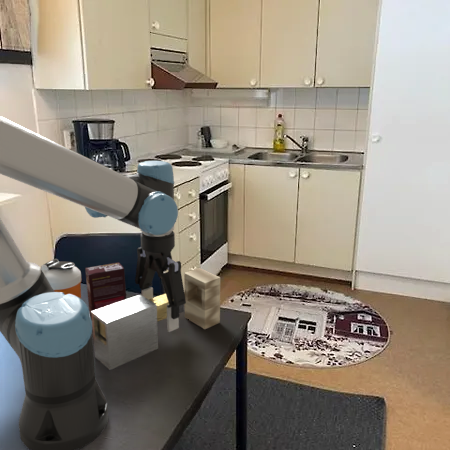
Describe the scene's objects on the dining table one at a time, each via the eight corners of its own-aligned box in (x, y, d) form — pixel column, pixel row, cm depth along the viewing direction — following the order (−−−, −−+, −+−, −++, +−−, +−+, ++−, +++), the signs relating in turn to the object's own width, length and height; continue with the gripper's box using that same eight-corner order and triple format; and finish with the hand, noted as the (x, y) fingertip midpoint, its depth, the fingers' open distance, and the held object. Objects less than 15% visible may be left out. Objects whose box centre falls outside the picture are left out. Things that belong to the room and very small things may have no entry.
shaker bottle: (74, 355, 104) (67, 273, 98) (38, 350, 106) (28, 269, 100) (93, 334, 112) (87, 257, 106) (59, 330, 114) (51, 254, 108)
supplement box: (123, 318, 120) (120, 261, 115) (128, 327, 116) (125, 268, 111) (89, 325, 116) (84, 267, 112) (93, 335, 112) (88, 274, 108)
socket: (204, 329, 116) (204, 283, 112) (184, 317, 121) (184, 272, 117) (219, 322, 119) (220, 277, 115) (199, 311, 124) (199, 267, 121)
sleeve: (110, 370, 99) (106, 323, 96) (94, 356, 104) (91, 311, 100) (158, 348, 107) (156, 304, 104) (142, 337, 112) (140, 294, 108)
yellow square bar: (109, 341, 99) (108, 324, 98) (100, 333, 102) (98, 317, 100) (183, 311, 112) (183, 296, 111) (173, 305, 115) (173, 290, 113)
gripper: (202, 240, 98) (202, 334, 105) (143, 217, 113) (147, 300, 120) (174, 248, 93) (175, 346, 100) (116, 223, 108) (121, 309, 115)
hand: (160, 321), depth 110 cm, fingers open, 9 cm apart
